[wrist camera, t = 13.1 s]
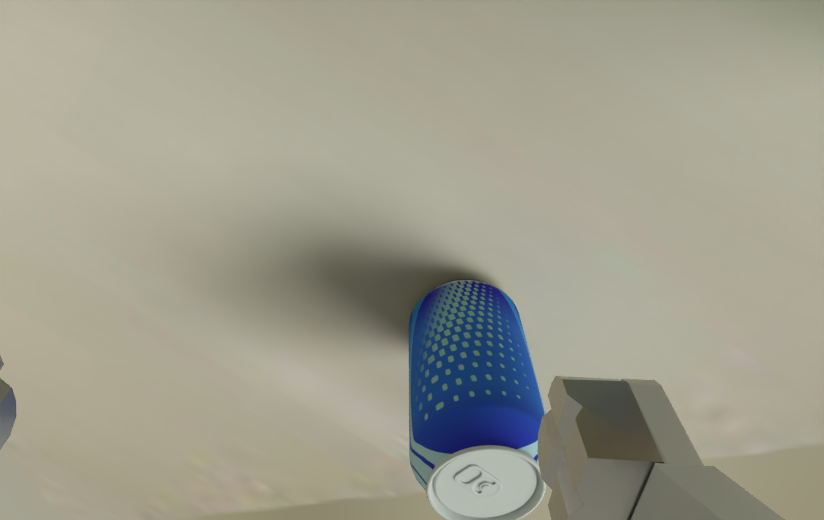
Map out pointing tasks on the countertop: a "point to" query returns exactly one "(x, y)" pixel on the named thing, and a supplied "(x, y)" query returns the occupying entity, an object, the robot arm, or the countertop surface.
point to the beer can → (473, 404)
